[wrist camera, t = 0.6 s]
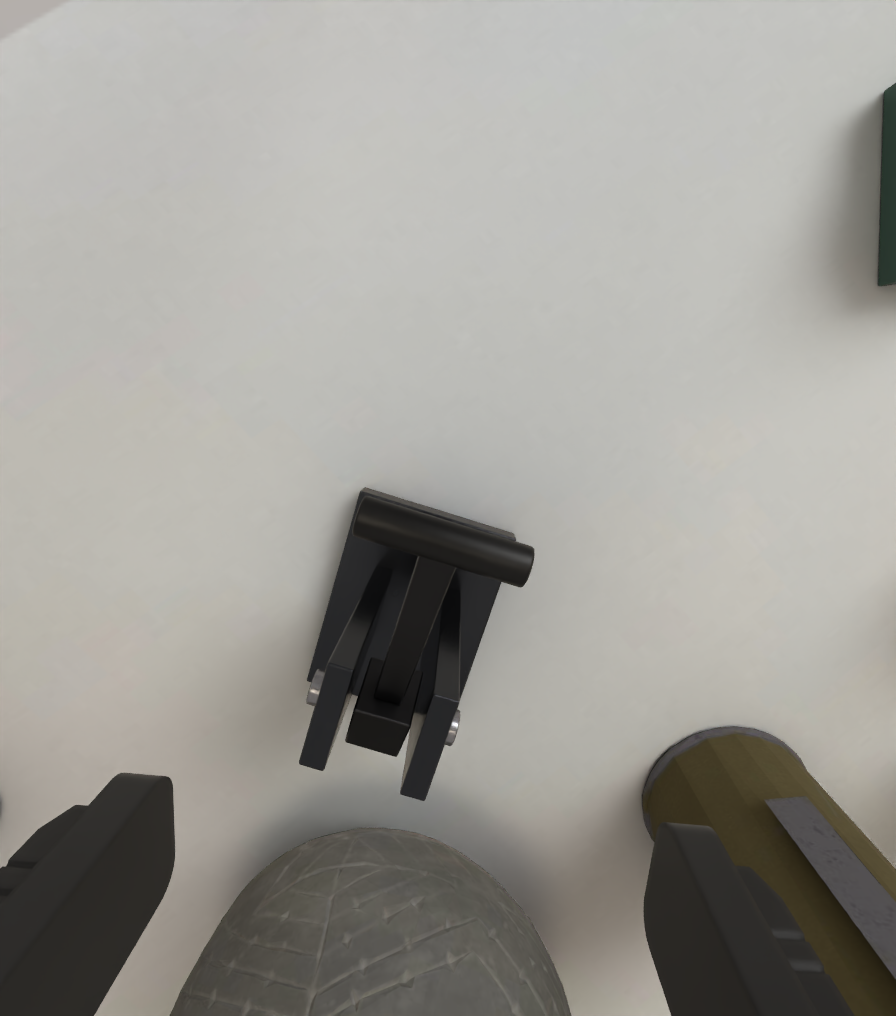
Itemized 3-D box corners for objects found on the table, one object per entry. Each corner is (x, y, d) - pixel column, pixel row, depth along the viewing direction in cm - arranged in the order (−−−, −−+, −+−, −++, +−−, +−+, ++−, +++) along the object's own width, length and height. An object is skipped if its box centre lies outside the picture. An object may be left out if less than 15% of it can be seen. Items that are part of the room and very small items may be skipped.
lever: (373, 473, 16) (347, 529, 14) (537, 524, 16) (532, 586, 14) (330, 680, 24) (310, 733, 22) (440, 713, 24) (430, 767, 22)
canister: (808, 862, 36) (1218, 1423, 16) (645, 874, 37) (854, 1432, 17) (810, 711, 34) (1285, 1150, 14) (636, 726, 34) (865, 1171, 15)
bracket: (364, 486, 32) (299, 549, 19) (514, 533, 32) (546, 624, 20) (312, 670, 34) (224, 832, 22) (452, 712, 34) (445, 895, 22)
